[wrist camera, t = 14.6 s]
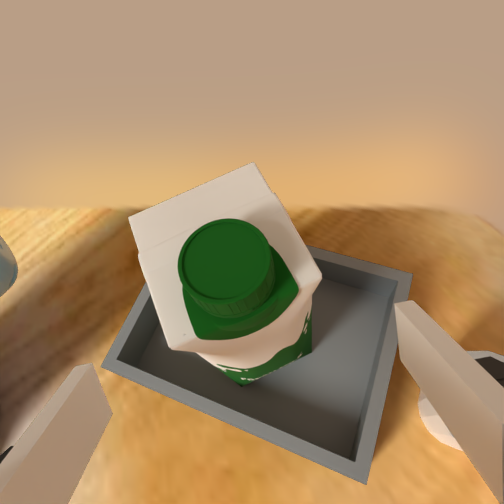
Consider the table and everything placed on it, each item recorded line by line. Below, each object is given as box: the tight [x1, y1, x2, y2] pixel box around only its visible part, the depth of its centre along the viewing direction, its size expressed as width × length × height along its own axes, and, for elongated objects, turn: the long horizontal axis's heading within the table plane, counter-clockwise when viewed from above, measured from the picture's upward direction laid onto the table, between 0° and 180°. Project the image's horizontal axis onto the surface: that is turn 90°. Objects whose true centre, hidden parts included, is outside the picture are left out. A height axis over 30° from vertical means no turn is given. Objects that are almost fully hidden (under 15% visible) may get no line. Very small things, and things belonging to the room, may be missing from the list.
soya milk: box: [128, 162, 322, 387], centre depth 25 cm, size 9×9×20 cm
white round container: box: [418, 351, 504, 451], centre depth 26 cm, size 7×7×7 cm
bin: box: [101, 245, 413, 485], centre depth 32 cm, size 22×16×5 cm
